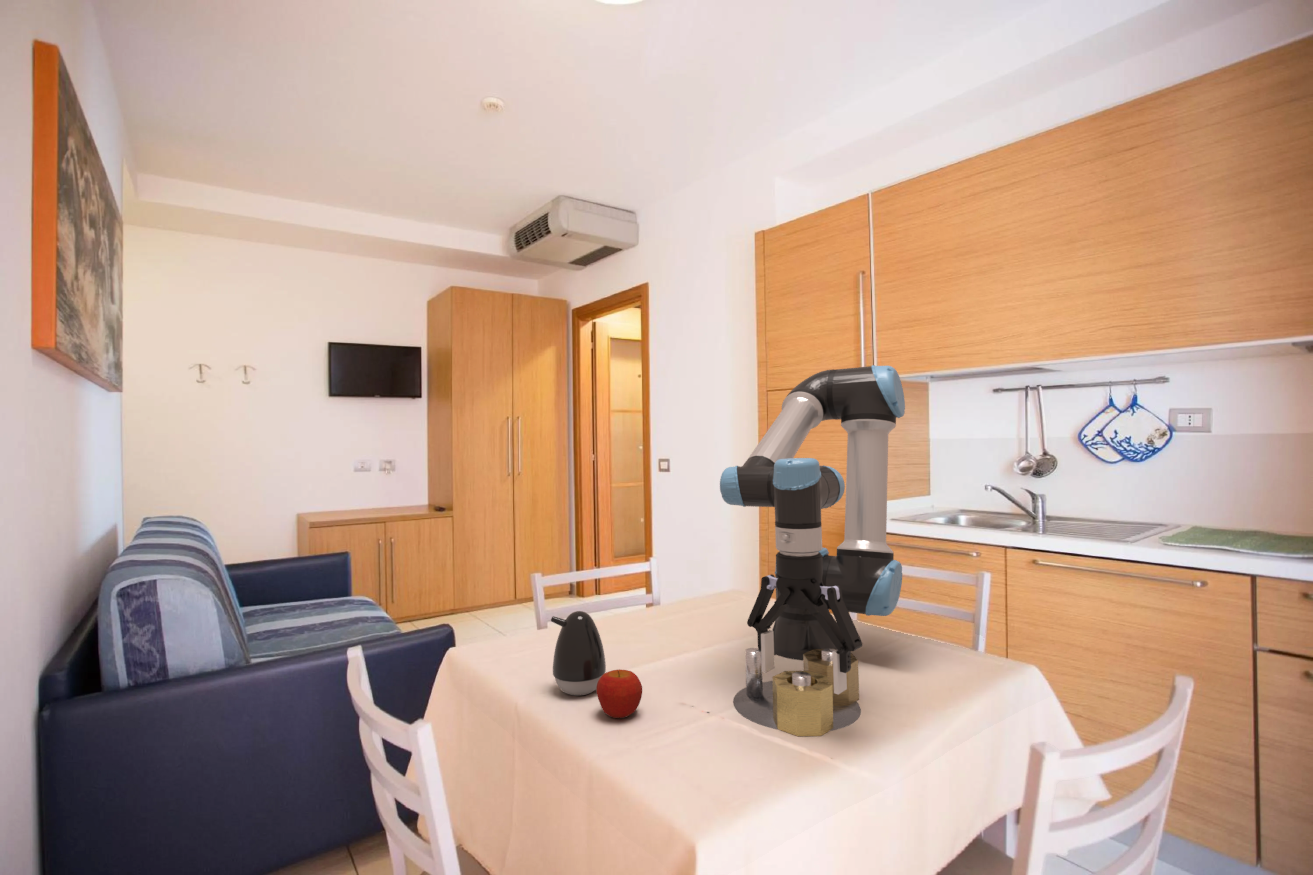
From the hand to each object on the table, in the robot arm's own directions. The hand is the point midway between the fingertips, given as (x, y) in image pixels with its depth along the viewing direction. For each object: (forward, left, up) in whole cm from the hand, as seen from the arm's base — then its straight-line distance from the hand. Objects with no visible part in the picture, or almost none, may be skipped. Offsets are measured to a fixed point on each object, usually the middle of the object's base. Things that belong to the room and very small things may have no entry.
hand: (802, 680), depth 102 cm
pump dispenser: (-40, -15, -8) cm, 44 cm away
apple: (-26, -17, -8) cm, 32 cm away
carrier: (-5, +6, -8) cm, 11 cm away
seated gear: (-2, +13, -7) cm, 15 cm away
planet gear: (0, 0, -7) cm, 7 cm away
